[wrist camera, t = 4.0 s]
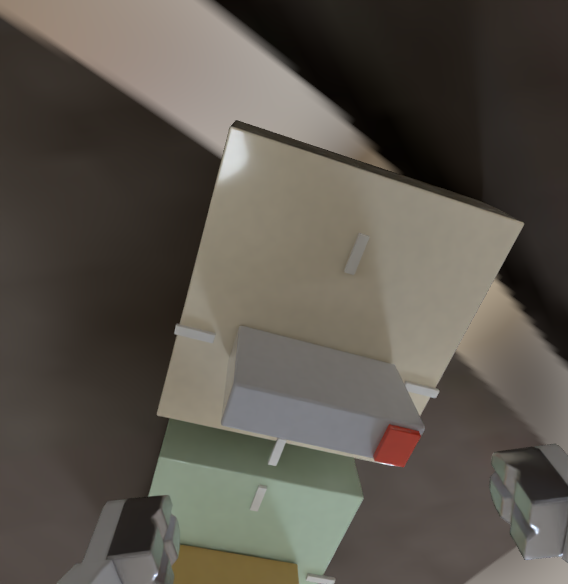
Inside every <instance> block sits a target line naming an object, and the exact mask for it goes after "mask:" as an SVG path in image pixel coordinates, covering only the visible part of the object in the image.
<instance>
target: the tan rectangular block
mask: <svg viewBox="0 0 568 584" xmlns="http://www.w3.org/2000/svg"><path fill="white" fill-rule="evenodd" d="M172 569H173V573H174V576H175V578H174V584H299V578H298V565H297V564H294V563H289V562H283V561H277V560H271V559H265V558H259V557H253V556H247V555H241V554H235V553H229V552H223V551H217V550H211V549H206V548H200V547H194V546H188V545H182V544H180V549H179V556H178V559H177V560H176V562H175V563H174V564H173V565H172Z"/></svg>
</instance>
